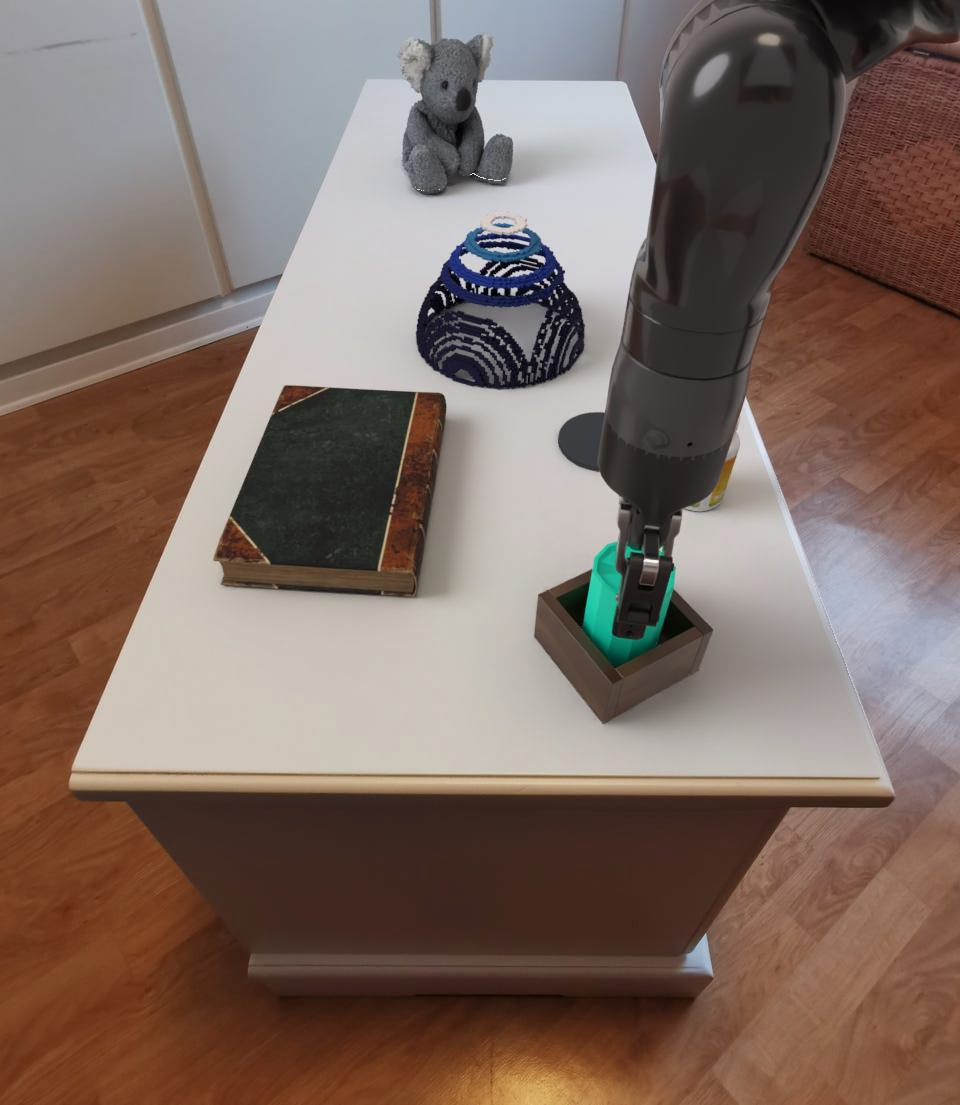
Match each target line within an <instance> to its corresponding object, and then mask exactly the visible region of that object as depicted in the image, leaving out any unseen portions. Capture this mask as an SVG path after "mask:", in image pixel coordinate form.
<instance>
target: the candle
mask: <svg viewBox="0 0 960 1105" xmlns="http://www.w3.org/2000/svg"><path fill="white" fill-rule="evenodd" d="M617 543H618V540H616V541H614V542H610V543H607V544H606V545H604V547H602V549H601V550H599V552H598V553H597V554H596V555H594V558H593V562H592V568H591V569H592V575H591V580H590V586H589V592H588V598H587V604H586V609H585V615H584V621H583V624H582V627H581V629H582V630H583V631H584V633H585V634H586V635H587V636H588V637H589V639H590V640H591V641H592V642H593V643H594V645H595V646H596V647H597V648H598V649H599V650H600V652H601V653H602V654H603V655H604V656H605V658H606V659H607V660H608V661H609V662H610V664H611V665H612V666H613V667H614V668H615V669H616V668H617V667H619V666H621V665H623V664H625V663H627V662H629V661H630V660H632V659H634V658H636V657H638V656H640V655H642V654H644V653H646V652H647V651H649V650H651V649H653V648H655V647H657V646H658V643H659V642H658V639H659V636H660V632H661V629H662V626H663V622H664V619H665V616H666V612H667V609H668V606H669V602H670V599H671V596H672V592H673V589H674V588H675V583H676V569H677V567H676V566H675V565H674V570H673V571H672V572H671V576H670V579H669V583H668V586H667V590H666V593H665V597H664V600H663V604H662V607H661V611H660V617H659V622H657V625H656V627H652V626H646V630H645V633H644V637H643V638H641V639H638V640H632V639H625V638H618V637H616V636H614V635H613V634H612V623H613V619H614V614H615V610H616V605H617V601H615V598H616V593H618V590H619V583H620V576H621V574H620V573H618V572H617V570H616V567H615V557H616V550H617ZM630 552H637V553H641V551H636V550H633V549H631V548H630V547H629V546H626V552H625V556H626V557H630ZM661 554H662V550H660V549H659V556H660V555H661ZM674 590H675V589H674Z"/></svg>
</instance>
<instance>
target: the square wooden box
mask: <svg viewBox="0 0 960 1105" xmlns="http://www.w3.org/2000/svg"><path fill="white" fill-rule="evenodd" d="M592 569H593V568H591V569H589V570H587V571H585V572H583V573H580V574H579V575H575V576H574V577H572V578H570V579H568V580H565V581H564V582H562V583H560V584H557V585H555V586H553V587H551V588H549V589H546V590H545V591H543V592H541V593H538V595H537V601H536V612H535V622H534V634H533V637H534V638H535V640H536V641H537V642H538V644H539V645H540V646H541V647H542V648H543V650H544V652H545V653H547V655H548V656H549V657H550V659H551V660H552V662H554V664H555V665H556V667H557V668H558V669H559V670H560V671H561V673H562V674H563V675H564V677H565V678H566V680H568V682H569V683H570V685H571V686H572V687H573V688H574V690H576V692H577V693H578V695H579V696H580V697H581V698H582V700H583V701H584V703H586V705H587V706H588V707H589V708H590V710H591V711H592V712H593V714H594V715H595V716H596V717H597V719H598V720H599V721H600V722H601V724H603V725H604V724H605V723H607V722H609V721H611V720H613V719H614V718H616V717H618V716H620V715H622V714H624V713H625V712H627V711H628V710H630V709H632V708H634V707H636V706H637V705H639V704H641V703H643V702H644V701H646V700H649V699H650V698H652V697H654V696H656V695H657V694H659V693H661V692H663V691H665V690H666V689H668V688H669V687H671V686H673V685H675V684H677V683H679V682H681V681H682V680H684V679H686V678H688V677H689V676H691V675H693V674H695V673H697V672H698V671H699V669H700V668H701V665H702V661H703V659H704V656H705V654H706V651H707V649H708V646H709V643H710V641H711V638H712V636H713V634H714V633H713V632H714V628H713V627H712V626H711V625H710V624H709V623H708V622H707V621H706V620H705V619H704V618H703V617H702V616H701V615H700V614H699V613H698V612H697V611H696V610H695V609H694V608H693V607H692V606H691V605H690V603H688V601H687V600H685V599H684V598H683V597H682V596H681V594H680V593H679V592H678V591H676V589H673V592H672V596H671V599H670V602H669V606H668V609H667V612H666V616H665V619H664V622H663V626H662V629H661V632H660V636H659V639H658V642H657V643H658V644H659V645H657V646H656V647H655V648H653V649H651V650H649V651H647V652H646V653H644V654H642V655H640V656H638V657H636V658H634V659H632V660H630V661H629V662H627V663H625V664H623V665H621V666H619V667H617V668H616V669H615V668H614V667H613V666H612V665H611V664H610V662H609V661H608V660H607V659H606V658H605V656H604V655H603V654H602V653H601V652H600V650H599V649H598V648H597V647H596V646H595V645H594V643H593V642H592V641H591V640H590V639H589V637H588V636H587V635H586V634H585V633H584V631H583V630H582V627H581V626H582V625H583V621H584V615H585V609H586V604H587V598H588V592H589V586H590V580H591V575H592Z"/></svg>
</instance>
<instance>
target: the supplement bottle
mask: <svg viewBox="0 0 960 1105" xmlns="http://www.w3.org/2000/svg"><path fill="white" fill-rule="evenodd" d="M740 422H741V415H740V416H739V419H738V422H737V425H736V428H735V432H734V435H733V438H732V441H731V444H730V448H729V451H728V454H727V457H726V460H725V463H724V466H723V470H722V473H721V476H720V479H719V482H718V484H717V486H716V488H715V489H714V491H713V492H712V493H711V494H710V495H709V496H708V497H707V498H705V499H704V500H702V501H700V502H699V503H697V504H694V505H692V506H689V507H686V508H684V509H685V510H688V511H693V512H705V511H710V510H713V509H714V508H717V507H718V506H719V505H720V504H721V503H722V501H723V498H724V496H725V494H726V490H727V487H728V484H729V481H730V478H731V475H732V472H733V469H734V466H735V463H736V459H737V457H738V453H739V451H740V446H741V438H740V436H739V433H738V432H737V431H738V429H739V425H740Z"/></svg>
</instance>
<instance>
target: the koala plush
mask: <svg viewBox="0 0 960 1105" xmlns="http://www.w3.org/2000/svg"><path fill="white" fill-rule="evenodd" d="M493 40H494V37H493V36H492V35H489V34H486V33H485V32H484V31H482V33H480V34H476V35H474V36H473V37H472V38H471V39H469V40H468V41H467V42H466V43H465V42H463V41H461V40H460V39H458V38H450V39H449V38H447V37H446V38H444V37H442V38H440V39H438V40H435V41H434V42H432V43H431V44H430V43H428V42H426V41H425V40H421V39H420V38H417V39H415V37H414V36H409V38H406V39H405V41H404V42H403V43H402V45H401V46H399V49H400V50H398V53H397V54H396V57H397V58H398V59H399V60H401V61H400V62H399V63H400V64H399V69H400V71H401V75H402V77H403V78H404V79H403V80H404V81H406V82H408V83H409V84H410V89H413V90H414V92H415V93H417V94H420V95H421V99H420V100H417V102H414V103H413V105H412V106H411V107H410V110H409V114H408V117H407V120H406V121H407V122H406V127H405V131H404V132H403V135H402V136H403V137H402V152H401V154H402V157H401V162H403V164H404V166H403V170H404V171H405V172H406V171H407V170H408V171H407V173H408V177H409V181H410V185H411V187H412V188H413V189H414V190H415V191H418V192H419V193H422V194H425V195H431V194H435V195H436V194H439V193H440V192H443V191H444V190H445V188H446V187H447V184H448V177H447V176H448V175H449V176H452V175H453V174H455V173H457V172H458V174H459V175H460V176H463V175H464V176H463V177H465V176H466V175H470V174H472V173H475V174H476V175H478V176H480V177H484V178H486V179H483V178H480V177H478V176H476V175H474V174H472V175H470V176H466V177H469V178H471V179H473V180H476V181H479V182H484V183H488V184H489V185H491V184H493V185H500V184H504V183H506V181H507V179H508V178H509V175H510V174H511V173H510V172H511V171H512V167H513V161H514V160H513V158H514V153H513V152H514V141H513V138H512V137H511V136H506V135H505V134H503V133H499V134H498V133H496V134H495V135H492V137H490V138H489V140H488V141H487V142H486V144H485V130H484V125H483V121H482V118H481V115H480V112H479V110H478V108H477V106H476V103H477V93H478V90H479V88H478V87H479V83H482V82H483V80H485V72H486V71H487V69H488V68H489V67H490V64H491V51H492V48H493V47H494V43H493V42H494V41H493ZM403 164H402V165H403ZM504 178H506V179H504ZM488 179H493V180H488ZM502 179H504V180H502ZM494 180H501V181H494ZM415 187H416V188H415ZM417 189H420V190H417ZM439 189H440V190H439ZM421 190H422V191H421ZM423 190H424V191H423Z"/></svg>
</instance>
